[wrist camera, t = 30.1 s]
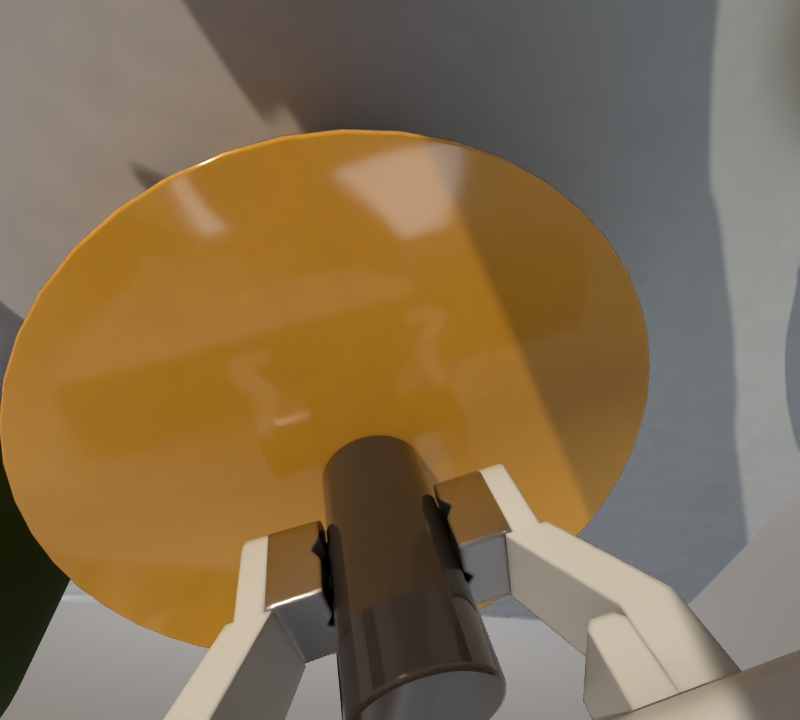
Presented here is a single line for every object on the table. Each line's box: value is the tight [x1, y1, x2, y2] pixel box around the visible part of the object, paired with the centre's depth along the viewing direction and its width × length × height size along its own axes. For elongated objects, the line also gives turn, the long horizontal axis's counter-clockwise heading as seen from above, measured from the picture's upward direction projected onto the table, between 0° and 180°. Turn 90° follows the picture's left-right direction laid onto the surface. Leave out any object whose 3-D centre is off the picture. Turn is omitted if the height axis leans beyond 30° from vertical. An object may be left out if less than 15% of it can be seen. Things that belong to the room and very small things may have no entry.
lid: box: [0, 129, 649, 720], centre depth 9 cm, size 15×15×6 cm
